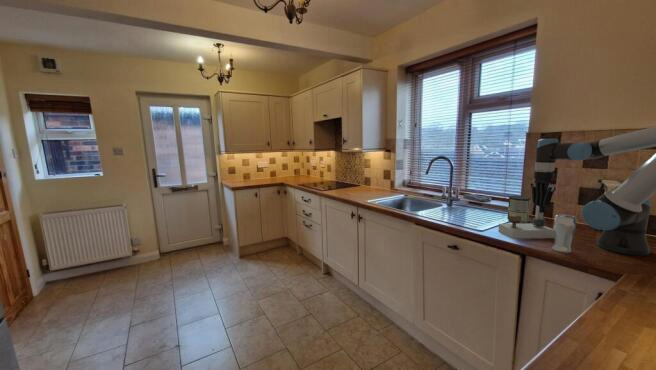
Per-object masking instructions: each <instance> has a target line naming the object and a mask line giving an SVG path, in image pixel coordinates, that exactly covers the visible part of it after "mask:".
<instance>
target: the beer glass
mask: <svg viewBox="0 0 656 370" xmlns="http://www.w3.org/2000/svg"><path fill="white" fill-rule="evenodd" d="M576 227H577V216H575V215H571V214H565V213H556V214H555V215H554V220H553V227H552V229H553V230H554V238H553V240H554V242H553V245H552V248H551V249H552V250H553V251H555V252H559V253H562V254H563V253H566V254H569V253H572V247H571V246H572V245H571V244H572V241H573V238H574V236H575V235H574V234H575V233H576Z"/></svg>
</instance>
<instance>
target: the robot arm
mask: <svg viewBox="0 0 656 370" xmlns="http://www.w3.org/2000/svg"><path fill="white" fill-rule="evenodd" d="M654 147H656V126H651V127H648V128H643V129H640V130H635V131H630V132H627V133H623V134H617V135H614V136H611V137H607V138H602V139H597V140H594V141H587V142H559V139H558V138H540V139H538V141H537V146H536V152H535V153H536V154H535V155H536V157H535V161H534V162H535V163H534V168H533V169H534V172H533V179H534V180H535V181H534V182H533V183H530V188H531V196H532V197H531V198H532V203H533V204H535V205H534V206H535V216H534V218H536V219H544V213H545V210H546V209H545V208H546V207H547V206H550V204H551V201H552V197H553V195H554V192H555V191H556V189H557V188H556V186H553V185H552V180H554V177H555V170H556V169H555V168H556V161H557V160H565V161H586V160H597V159H600V158H604V157H607V156H612V155H617V154H623V153H627V152H633V151H638V150H639V151H640V150H642V149H643V150H644V149H649V148H654ZM655 194H656V152H654V154H653V155H652V156H650V157H649V158H648V159H647V160H646V161H645V162H643V164H641V166H639V167H638V168H637V169H636V170H634V172H633V173H632V174H631V175H630V176H628V177H627V178H626V179H625V180H624V181H623V182H621V184H620V185H618V186H617V187H616V188H615V189H614V190H606V191H605V192H604V193H602V194H601V195H600V196H599V197H598V198H597V199H596V200H592V201H590V202H587V203H586V204H584V205H583V207H582V209H581V215H582V219H583V221H584V222H585V224H586V225H588V226H589V227H591V228H593V229H594V230H595V229H596V230H598V231H602V232H601V233H600V235H599V237H598V238H597V239H596V245H597V246H598V247H599V248H602V249H604V250H607V251H611V252H613V253H619V254H623V255H629V256H639V257H640V256H641V257H642V256H643V257H644V256H649V255H650V252H651V247H650V246H649V243H648V238H647V235H646V234H647V230H648V229H647V228H648V223H649V218H650V217H649V216H650V212H651V208H652V205H651V204H652V203H651V202H652V201H651V200H650V198H651V197H653V196H654V195H655Z"/></svg>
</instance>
